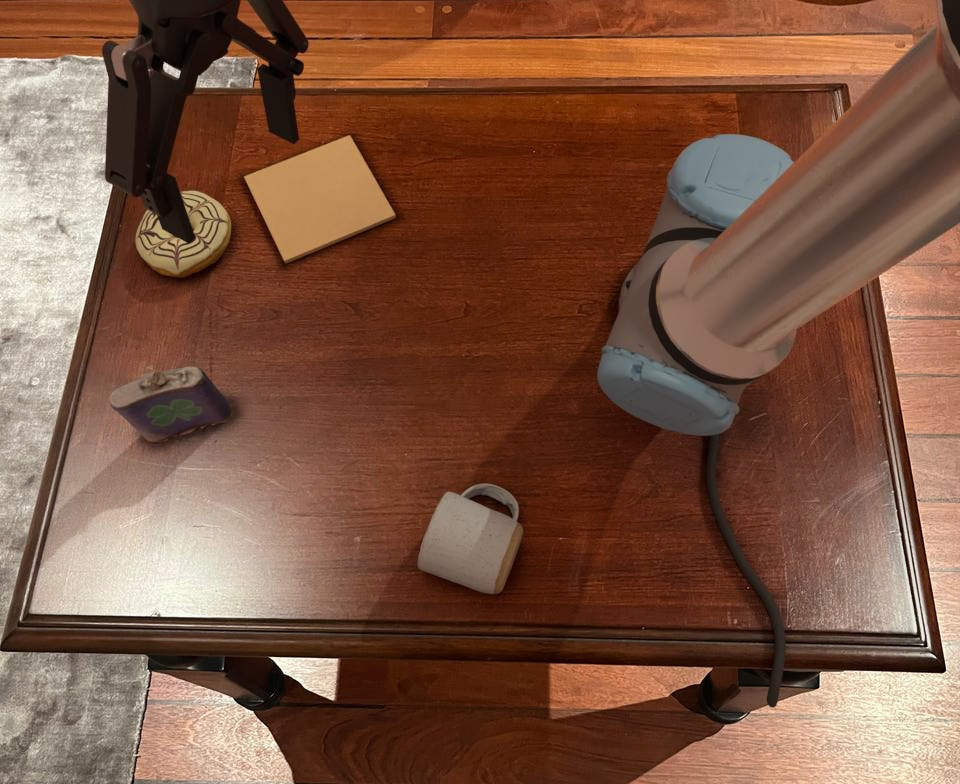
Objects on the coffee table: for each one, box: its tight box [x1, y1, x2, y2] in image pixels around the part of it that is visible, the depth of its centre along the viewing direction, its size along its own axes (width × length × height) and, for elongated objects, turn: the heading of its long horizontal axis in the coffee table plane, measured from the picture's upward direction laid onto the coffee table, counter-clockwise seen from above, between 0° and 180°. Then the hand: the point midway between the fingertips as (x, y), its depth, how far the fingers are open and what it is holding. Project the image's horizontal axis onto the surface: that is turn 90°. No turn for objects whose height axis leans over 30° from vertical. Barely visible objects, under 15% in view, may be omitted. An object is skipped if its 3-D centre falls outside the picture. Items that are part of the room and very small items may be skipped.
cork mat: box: [243, 134, 397, 265], centre depth 95 cm, size 14×14×1 cm
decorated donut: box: [135, 190, 232, 278], centre depth 92 cm, size 10×11×4 cm
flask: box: [108, 365, 234, 443], centre depth 79 cm, size 9×3×11 cm, turn 109°
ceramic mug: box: [417, 482, 524, 595], centre depth 74 cm, size 11×8×8 cm
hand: (234, 182), depth 67 cm, fingers open, 13 cm apart
